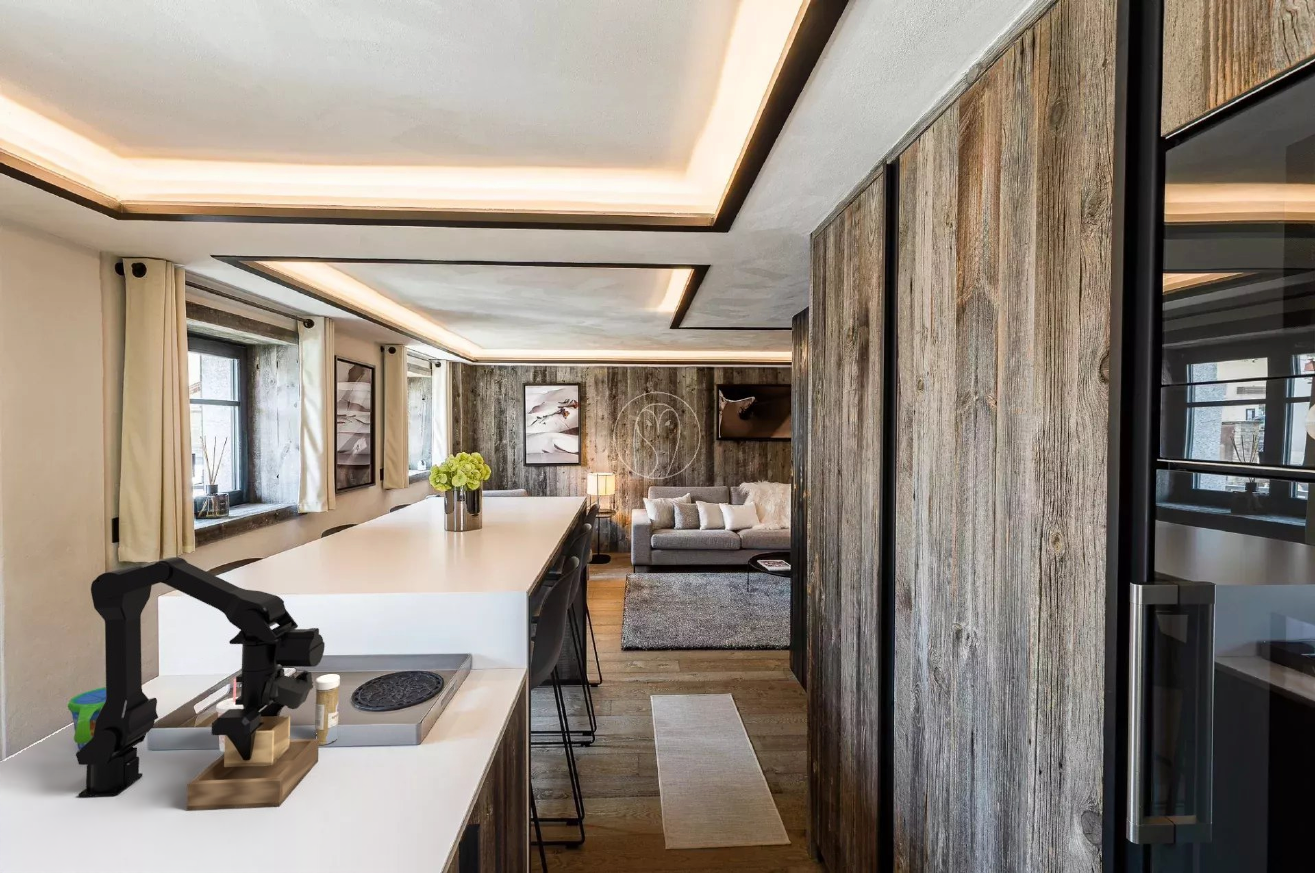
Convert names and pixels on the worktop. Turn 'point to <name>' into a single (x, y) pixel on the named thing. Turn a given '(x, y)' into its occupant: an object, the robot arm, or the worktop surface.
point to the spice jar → (326, 705)
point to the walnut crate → (252, 780)
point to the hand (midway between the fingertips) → (257, 750)
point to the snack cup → (86, 714)
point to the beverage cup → (225, 706)
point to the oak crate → (262, 743)
